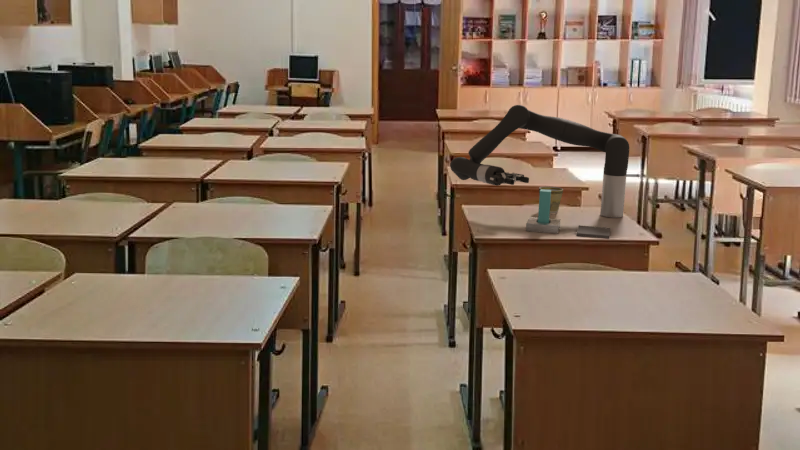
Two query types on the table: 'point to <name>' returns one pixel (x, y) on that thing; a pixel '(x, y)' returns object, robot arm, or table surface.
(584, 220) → the table surface
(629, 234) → the table surface
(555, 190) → the ceramic cup
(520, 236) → the table surface
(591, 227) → the rubber mat
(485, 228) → the table surface
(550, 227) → the socket block
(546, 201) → the teal peg
